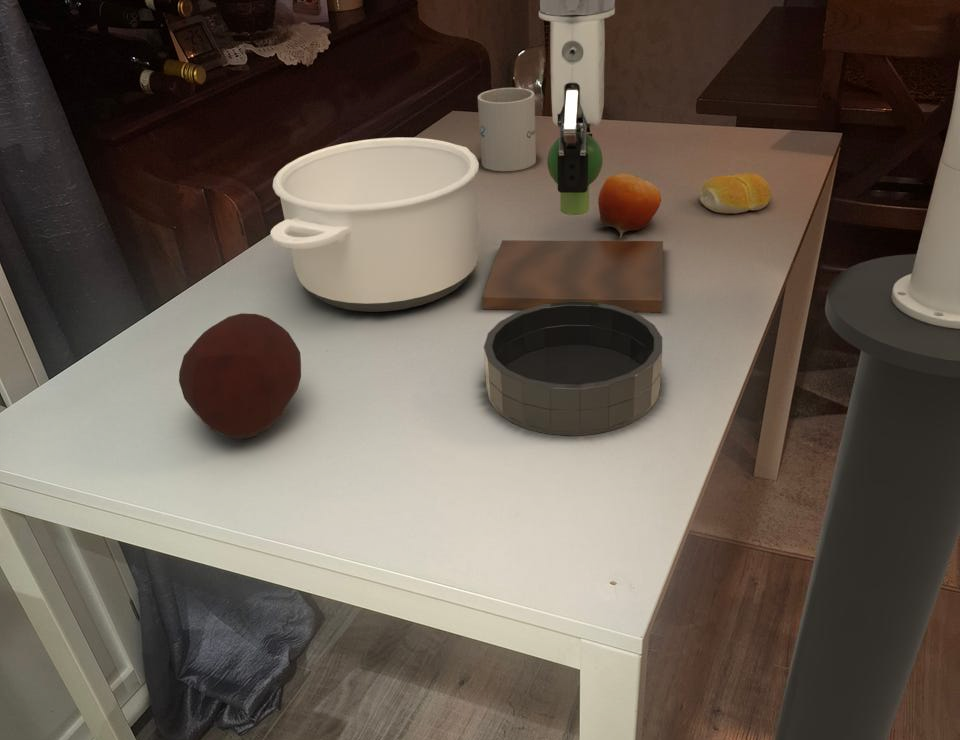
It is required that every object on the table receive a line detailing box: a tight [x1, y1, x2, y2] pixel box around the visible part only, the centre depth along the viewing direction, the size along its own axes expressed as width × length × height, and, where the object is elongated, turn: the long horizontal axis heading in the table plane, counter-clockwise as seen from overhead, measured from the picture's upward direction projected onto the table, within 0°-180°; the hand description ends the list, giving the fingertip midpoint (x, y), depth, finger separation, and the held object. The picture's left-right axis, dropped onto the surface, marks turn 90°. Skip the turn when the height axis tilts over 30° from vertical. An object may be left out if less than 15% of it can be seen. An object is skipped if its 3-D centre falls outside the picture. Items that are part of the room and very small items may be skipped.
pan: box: [483, 302, 663, 437], centre depth 85 cm, size 17×17×5 cm
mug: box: [477, 87, 537, 172], centre depth 139 cm, size 12×9×10 cm
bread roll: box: [699, 172, 772, 214], centre depth 120 cm, size 8×9×4 cm
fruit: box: [597, 172, 662, 239], centre depth 115 cm, size 8×8×8 cm
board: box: [481, 239, 664, 313], centre depth 105 cm, size 20×16×2 cm
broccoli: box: [546, 132, 604, 216], centre depth 98 cm, size 6×6×8 cm
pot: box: [269, 137, 480, 313], centre depth 105 cm, size 33×23×14 cm
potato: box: [178, 312, 302, 440], centre depth 83 cm, size 11×13×10 cm
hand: (575, 179), depth 98 cm, fingers closed on broccoli, 5 cm apart
